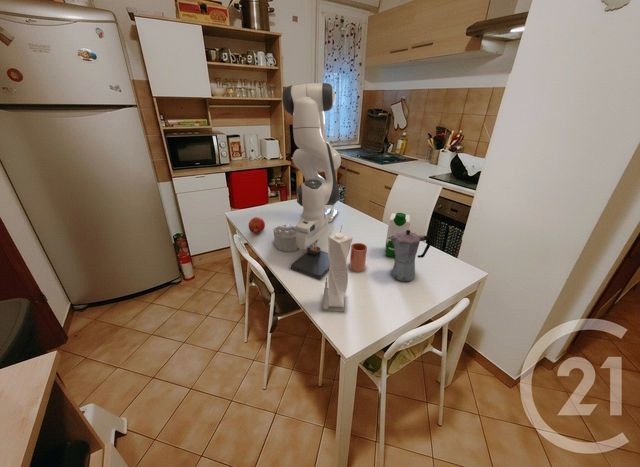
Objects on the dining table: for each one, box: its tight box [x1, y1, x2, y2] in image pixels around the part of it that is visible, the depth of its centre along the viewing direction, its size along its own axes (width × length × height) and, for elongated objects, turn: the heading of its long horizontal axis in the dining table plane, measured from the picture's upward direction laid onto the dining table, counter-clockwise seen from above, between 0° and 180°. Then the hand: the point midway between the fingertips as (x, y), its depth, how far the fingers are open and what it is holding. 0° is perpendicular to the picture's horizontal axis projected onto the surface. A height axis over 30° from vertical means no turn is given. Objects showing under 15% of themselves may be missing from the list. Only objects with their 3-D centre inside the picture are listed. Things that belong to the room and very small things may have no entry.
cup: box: [349, 242, 368, 273], centre depth 106 cm, size 6×6×10 cm
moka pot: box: [389, 229, 433, 282], centre depth 100 cm, size 10×15×20 cm, turn 88°
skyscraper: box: [322, 224, 353, 313], centre depth 84 cm, size 8×8×28 cm
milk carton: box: [385, 212, 411, 259], centre depth 114 cm, size 9×9×20 cm
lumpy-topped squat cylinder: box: [273, 224, 299, 252], centre depth 123 cm, size 10×13×9 cm
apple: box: [248, 216, 266, 234], centre depth 134 cm, size 8×8×8 cm
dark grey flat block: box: [290, 246, 330, 280], centre depth 110 cm, size 16×14×4 cm
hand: (313, 248), depth 114 cm, fingers closed, pressing on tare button
